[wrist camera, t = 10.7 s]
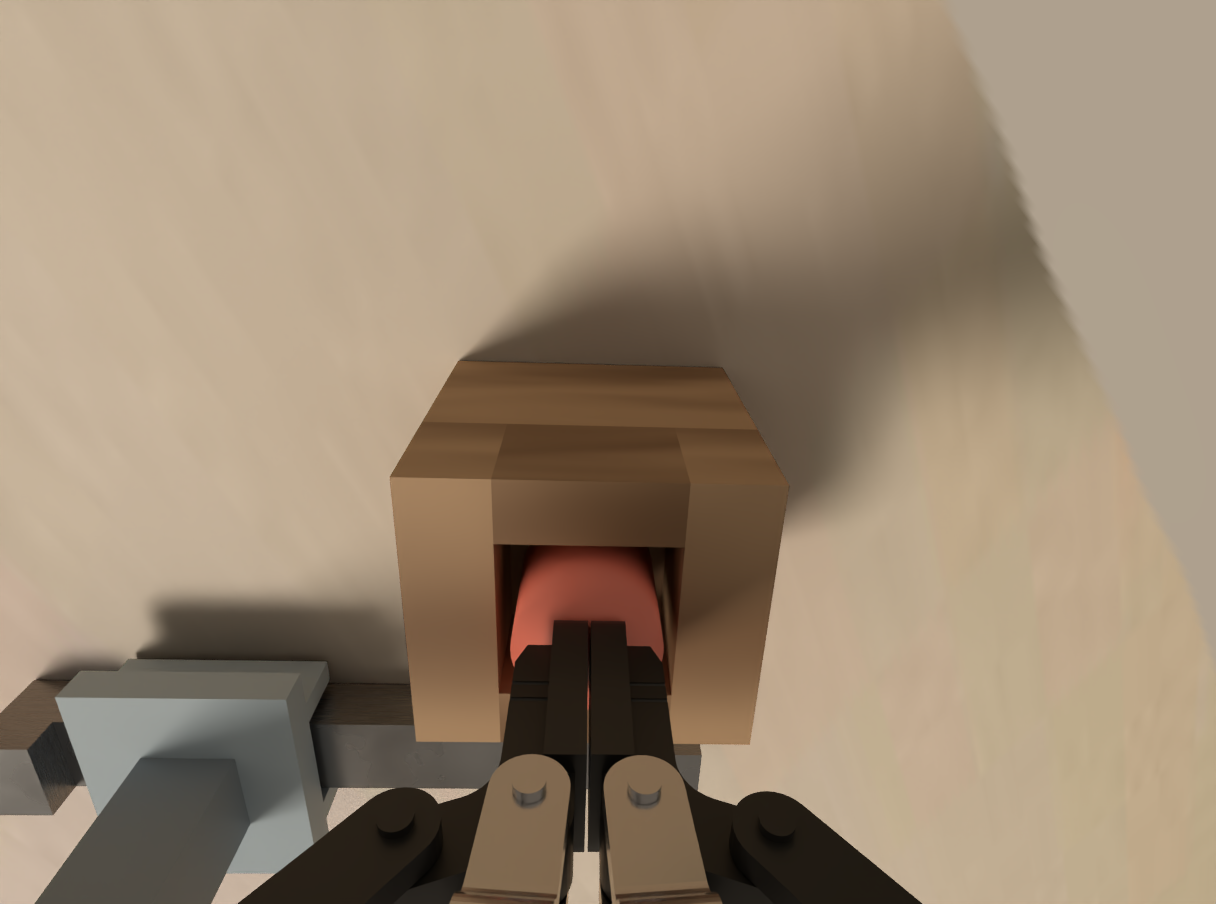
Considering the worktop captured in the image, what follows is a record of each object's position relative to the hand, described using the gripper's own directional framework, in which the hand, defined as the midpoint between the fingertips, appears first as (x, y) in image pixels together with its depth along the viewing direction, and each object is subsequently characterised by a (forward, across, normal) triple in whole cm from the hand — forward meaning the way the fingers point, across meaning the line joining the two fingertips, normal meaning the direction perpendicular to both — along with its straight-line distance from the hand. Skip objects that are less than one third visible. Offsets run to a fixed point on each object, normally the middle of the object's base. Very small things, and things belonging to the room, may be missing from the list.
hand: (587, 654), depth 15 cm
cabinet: (+9, 0, 0) cm, 9 cm away
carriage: (+9, +13, +10) cm, 19 cm away
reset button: (+3, 0, 0) cm, 3 cm away
